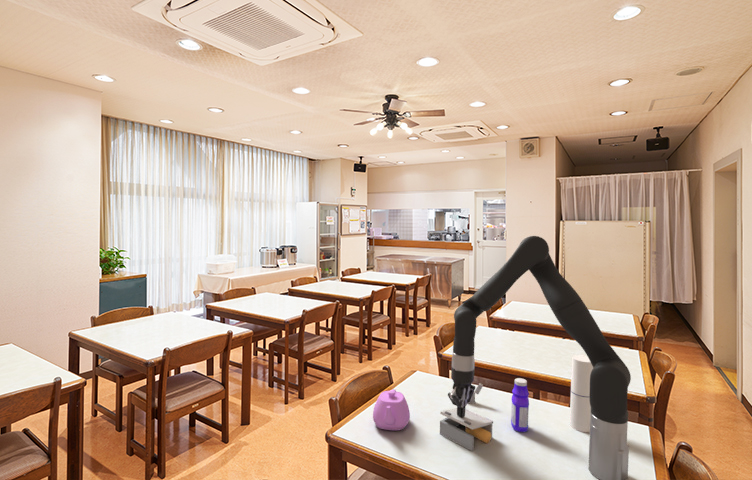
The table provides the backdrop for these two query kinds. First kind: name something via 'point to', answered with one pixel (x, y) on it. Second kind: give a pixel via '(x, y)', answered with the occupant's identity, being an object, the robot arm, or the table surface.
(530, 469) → the table surface
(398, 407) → the teapot
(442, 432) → the hinged gray case
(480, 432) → the orange cylinder
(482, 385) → the lighter
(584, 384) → the cylindrical container
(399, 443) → the table surface
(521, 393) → the bottle
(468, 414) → the cover
